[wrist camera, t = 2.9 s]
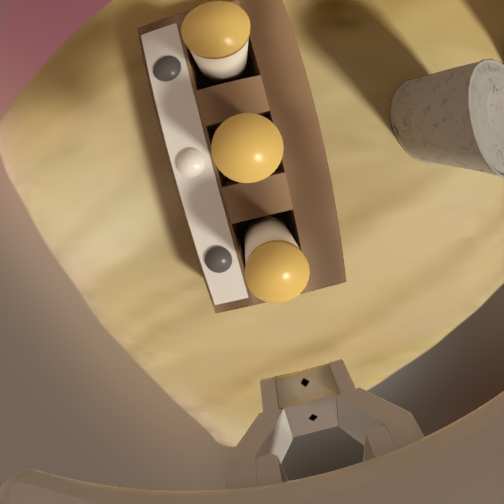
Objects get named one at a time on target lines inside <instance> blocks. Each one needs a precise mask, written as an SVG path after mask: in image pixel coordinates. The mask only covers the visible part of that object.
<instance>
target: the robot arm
mask: <svg viewBox="0 0 504 504" xmlns="http://www.w3.org/2000/svg"><path fill="white" fill-rule="evenodd" d="M260 385H261V395H262V405H263V413H259V414H258V416H257V417H256V419H255V420H254V422H253V423H252V425H251V426H250V428H249V429H248V430H247V432H246V433H245V435H244V436H243V438H242V439H241V440H240V442H239V443H238V445H237V446H236V447H235V449H234V450H233V452H232V453H231V454H230V456H229V457H228V458H227V465H226V468H227V469H226V490H212V491H157V490H156V491H155V490H141V489H130V488H121V487H113V486H106V485H100V484H94V483H88V482H83V481H78V480H73V479H69V478H64V477H60V476H56V475H52V474H49V473H45V472H41V471H38V470H35V469H26V470H24V471H22V472H20V473H19V474H17V475H16V476H14V477H13V478H11V479H10V480H8V481H7V482H5V483H4V484H3V485H2V486H1V488H0V504H504V391H503V392H502V393H501V394H499V395H498V396H496V397H495V398H493V399H492V400H490V401H489V402H487V403H486V404H484V405H482V406H481V407H480V408H478V409H476V410H475V411H473V412H471V413H469V414H468V415H466V416H464V417H463V418H461V419H459V420H457V421H456V422H454V423H452V424H450V425H448V426H446V427H444V428H442V429H441V430H439V431H437V432H435V433H432V434H431V435H428V436H426V437H424V435H423V433H422V432H421V430H420V428H419V426H418V424H417V423H416V421H415V419H414V417H413V416H412V414H411V412H409V411H407V410H405V409H403V408H401V407H398V406H396V405H394V404H392V403H390V402H388V401H386V400H384V399H382V398H379V397H378V396H376V395H373V394H372V393H370V392H368V391H366V390H364V389H362V388H357V389H356V388H355V386H354V383H353V381H352V379H351V377H350V375H349V373H348V370H347V368H346V366H345V364H344V362H343V360H341V359H340V360H337V361H334V362H330V363H328V364H324V365H320V366H317V367H313V368H310V369H306V370H302V371H298V372H294V373H289V374H285V375H280V376H275V377H272V378H266V379H261V381H260ZM335 426H339V427H340V428H341V429H343V430H344V431H345V432H347V433H348V434H349V435H351V436H352V437H354V438H355V439H356V440H358V441H359V442H360V443H362V444H363V445H365V449H364V460H363V462H361V463H358V464H355V465H352V466H349V467H346V468H342V469H339V470H335V471H332V472H328V473H324V474H320V475H316V476H311V477H307V478H303V479H298V480H293V481H288V480H287V477H286V475H285V472H284V470H283V467H282V465H281V462H282V460H283V458H284V456H285V454H286V452H287V450H288V448H289V446H290V444H291V442H292V439H293V437H296V436H300V435H304V434H308V433H311V432H315V431H319V430H323V429H327V428H330V427H335Z"/></svg>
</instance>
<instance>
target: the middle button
mask: <svg viewBox="0 0 504 504" xmlns="http://www.w3.org/2000/svg"><path fill="white" fill-rule="evenodd" d="M283 150H284V147H283V140H282V136H281V134H280V132H279V130H278V129H277V127H276V126H275V125H274V124H273V123H272V122H271V121H270V120H268V119H267V118H265V117H263V116H261V115H258V114H254V113H242V114H237V115H234V116H232V117H230V118H228V119H226V120H225V121H224V122H223V123H222V124H221V125H220V126H219V127H218V129H217V130H216V132H215V134H214V136H213V139H212V144H211V152H212V157H213V160H214V163H215V165H216V166H217V168H218V169H219V170H220V171H221V173H223V174H224V175H225V176H226V177H228V178H229V179H231V180H234V181H237V182H241V183H254V182H258V181H261V180H263V179H265V178H267V177H269V176H270V175H271V174H272V173H273V172H274V171H275V170H276V169H277V167H278V166H279V164H280V162H281V160H282V156H283Z"/></svg>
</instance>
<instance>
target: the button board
mask: <svg viewBox="0 0 504 504" xmlns="http://www.w3.org/2000/svg"><path fill="white" fill-rule="evenodd" d="M230 2H231V3H233V4H236V5H238V6H239V7H241V8H242V9H243V10H244V11H245V12H246V14H247V15H248V17H249V20H250V35H249V40H248V52H247V53H248V57H249V60H250V64H251V68H252V71H253V75H254V77H249V78H244V79H240V80H235V81H231V82H227V83H223V84H219V85H215V86H211V87H207V88H204V89H201V86H200V82H199V78H198V74H197V70H196V66H195V62H194V58H193V56H192V54H191V52H190V50H189V49H188V47H187V46H186V44H185V42H184V40H183V38H182V34H181V27H182V23H183V21H184V19H185V17H186V16H187V14H188V13H189V12H190V11H188V12H185V13H181V14H178V15H175V16H172V17H169V18H165V19H162V20H159V21H157V22H154V23H151V24H148V25H145V26H143V27H140V28H138V34H139V39H140V44H141V49H142V54H143V59H144V63H145V68H146V73H147V77H148V82H149V86H150V90H151V95H152V99H153V103H154V107H155V112H156V116H157V120H158V124H159V128H160V132H161V136H162V139H163V143H164V147H165V151H166V155H167V158H168V162H169V166H170V169H171V173H172V177H173V180H174V184H175V187H176V191H177V194H178V198H179V201H180V204H181V208H182V211H183V215H184V218H185V221H186V225H187V228H188V231H189V234H190V238H191V241H192V244H193V247H194V250H195V253H196V256H197V260H198V263H199V266H200V269H201V272H202V275H203V278H204V281H205V284H206V287H207V290H208V293H209V296H210V299H211V301H212V304H213V307H214V310H215V313H220V312H225V311H229V310H234V309H238V308H243V307H247V306H252V305H256V304H260V303H265V301H263V300H260V299H259V298H257V297H256V296H255V295H254V294H253V293H252V292H251V291H250V290H249V288H248V286H247V283H246V278H245V266H246V262H245V254H244V251H243V247H242V243H241V239H240V236H239V232H238V228H237V224H236V223H238V222H242V221H246V220H251V219H255V218H259V217H263V216H267V215H271V214H275V213H280V212H284V211H287V214H288V219H289V224H290V228H291V233H292V237H293V238H294V240H295V242H296V243H297V245H298V247H299V249H300V250H301V251H302V252H303V254H304V256H305V258H306V259H307V261H308V264H309V270H310V275H309V280H308V283H307V285H306V287H305V288H304V290H303V291H302V292H301V293H300V294H302V293H306V292H310V291H314V290H318V289H321V288H325V287H329V286H333V285H337V284H340V283H344V282H346V275H345V267H344V259H343V251H342V244H341V237H340V230H339V224H338V217H337V211H336V205H335V199H334V194H333V188H332V183H331V177H330V172H329V167H328V162H327V157H326V153H325V148H324V143H323V139H322V134H321V130H320V126H319V122H318V117H317V113H316V109H315V105H314V101H313V97H312V94H311V90H310V86H309V82H308V79H307V75H306V72H305V68H304V65H303V61H302V58H301V55H300V51H299V48H298V45H297V42H296V39H295V36H294V32H293V29H292V26H291V23H290V20H289V18H288V15H287V12H286V9H285V6H284V3H283V1H282V0H235V1H230ZM175 23H177V26H178V31H179V35H180V39H181V43H182V47H183V51H184V55H185V59H186V63H187V68H188V72H189V76H190V80H191V84H192V88H193V92H194V96H195V99H196V103H197V107H198V111H199V115H200V119H201V123H202V127H203V131H204V135H205V138H206V142H207V146H208V150H209V154H210V158H211V161H212V165H213V169H214V173H215V176H216V180H217V184H218V188H219V191H220V195H221V199H222V203H223V206H224V210H225V214H226V217H227V221H228V225H229V228H230V232H231V236H232V239H233V243H234V247H235V250H236V254H237V258H238V261H239V265H240V268H241V272H242V275H243V279H244V283H245V286H246V290H247V293H248V298H245V299H240V300H236V301H231V302H227V303H222V304H218V305H215V304H214V301H213V298H212V295H211V292H210V289H209V286H208V283H207V280H206V277H205V274H204V271H203V268H202V265H201V262H200V259H199V256H198V253H197V250H196V246H195V243H194V240H193V237H192V233H191V230H190V227H189V224H188V220H187V217H186V214H185V210H184V207H183V203H182V200H181V197H180V193H179V190H178V186H177V183H176V179H175V175H174V172H173V168H172V165H171V161H170V157H169V153H168V150H167V146H166V142H165V138H164V134H163V130H162V126H161V123H160V118H159V114H158V110H157V106H156V102H155V98H154V94H153V89H152V85H151V80H150V76H149V72H148V67H147V62H146V58H145V53H144V48H143V43H142V38H141V35H143V34H146V33H148V32H151V31H154V30H157V29H160V28H163V27H166V26H169V25H172V24H175ZM242 113H254V114H258V115H261V116H263V117H265V118H267V119H268V120H270V121H271V122H272V123H273V124H274V125H275V126H276V127H277V129H278V130H279V132H280V134H281V136H282V140H283V147H284V150H283V156H282V160H281V162H280V164H279V166H278V167H277V169H276V170H275V171H274V172H273V173H272V174H271V175H270V176H269V177H267V178H265V179H263V180H261V181H258V182H254V183H241V182H237V181H234V180H227V181H225V179H224V175H223V173H221V171H220V170H219V169H218V168H217V166H216V165H215V163H214V160H213V157H212V152H211V144H212V139H213V133H212V130H215V129H218V127H219V126H220V125H221V124H222V123H223V122H224V121H225V120H226V119H228V118H230V117H232V116H234V115H237V114H242Z"/></svg>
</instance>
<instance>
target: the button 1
mask: <svg viewBox="0 0 504 504" xmlns="http://www.w3.org/2000/svg"><path fill="white" fill-rule="evenodd" d="M181 34H182V38H183V40H184V42H185V44H186V46H187V47H188V49H189V50H190V52H191V54H192V56H193V57H194V59H195V61H196V63H197V65H198V67H199V69H200V71H201V73H202V74H203V75H204V76H205V77H206V78H207V79H209V80H211V81H213V82H217V83H226V82H230V81H233V80H235V79H236V78H238V77H239V76H240V75H241V74H242V73H243V72H244V70H245V68H246V64H247V52H248V40H249V35H250V20H249V17H248V15H247V14H246V12H245V11H244V10H243V9H242V8H241V7H239V6H238V5H236V4H233V3H231V2H227V1H211V2H207V3H203V4H201V5H199V6H197V7H195V8H194V9H193V10H191V11H190V12H189V13H188V14H187V16H186V17H185V19H184V21H183V23H182V27H181Z"/></svg>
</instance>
